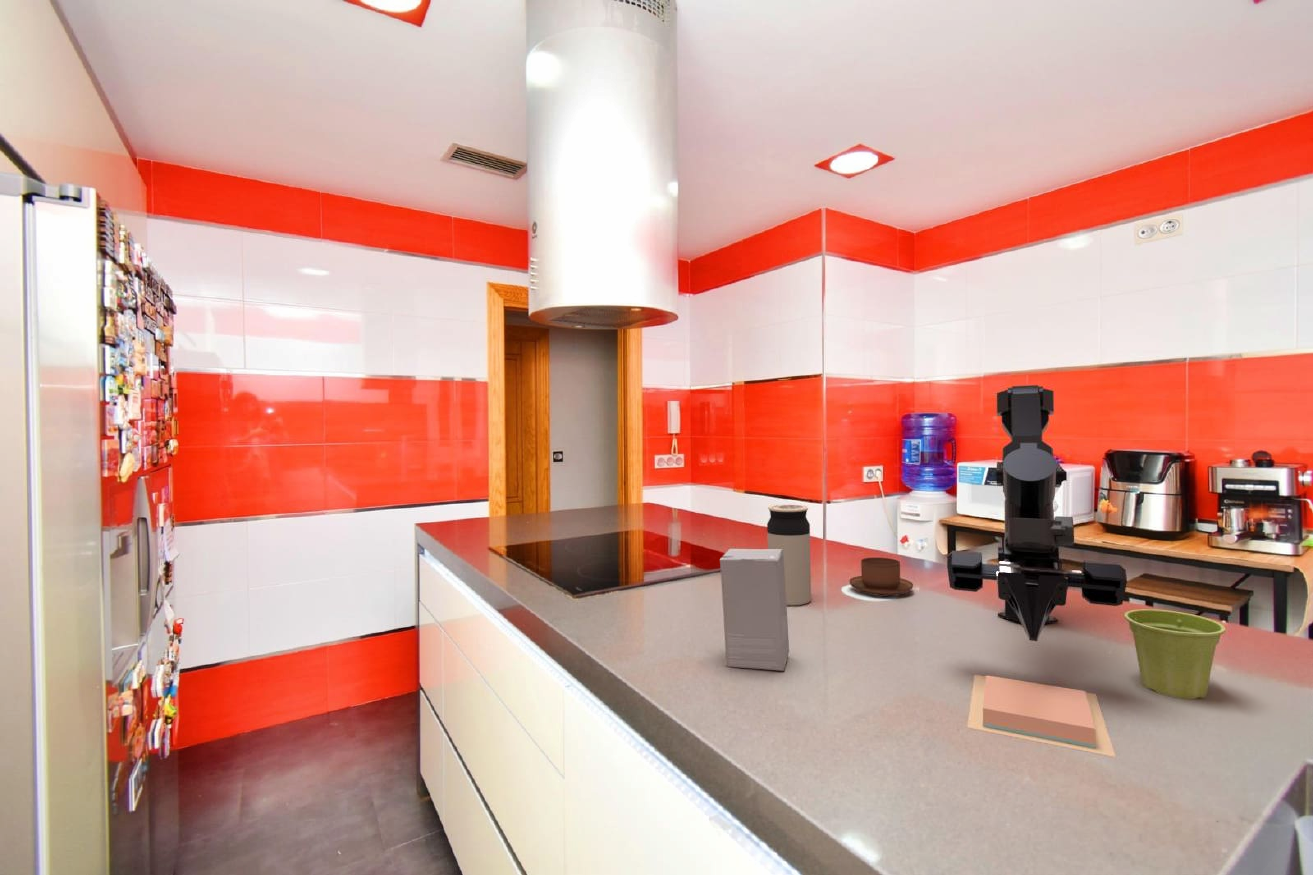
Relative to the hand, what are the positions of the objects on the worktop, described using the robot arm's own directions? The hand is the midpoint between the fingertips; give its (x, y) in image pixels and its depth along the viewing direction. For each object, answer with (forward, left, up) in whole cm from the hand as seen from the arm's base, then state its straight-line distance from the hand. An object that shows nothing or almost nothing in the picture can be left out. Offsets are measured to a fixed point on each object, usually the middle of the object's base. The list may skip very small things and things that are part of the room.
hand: (1033, 639), depth 72 cm
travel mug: (0, -49, -8) cm, 50 cm away
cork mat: (+2, +1, -8) cm, 8 cm away
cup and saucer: (-20, -47, -8) cm, 52 cm away
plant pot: (-19, +4, -8) cm, 21 cm away
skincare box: (+22, -25, -8) cm, 35 cm away
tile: (-1, -1, -6) cm, 7 cm away
